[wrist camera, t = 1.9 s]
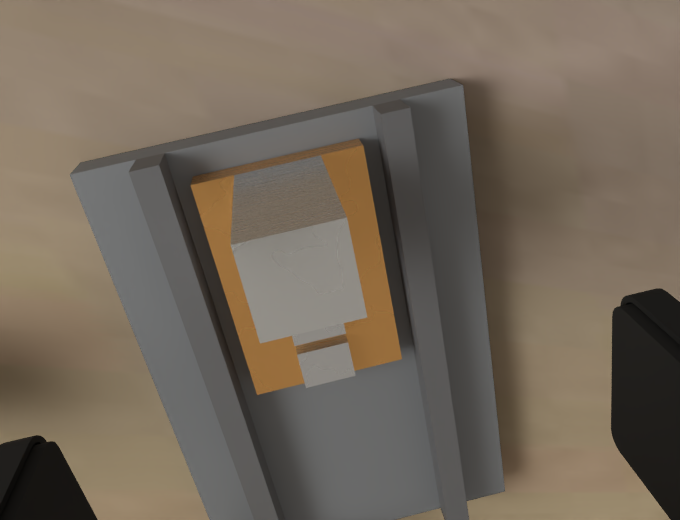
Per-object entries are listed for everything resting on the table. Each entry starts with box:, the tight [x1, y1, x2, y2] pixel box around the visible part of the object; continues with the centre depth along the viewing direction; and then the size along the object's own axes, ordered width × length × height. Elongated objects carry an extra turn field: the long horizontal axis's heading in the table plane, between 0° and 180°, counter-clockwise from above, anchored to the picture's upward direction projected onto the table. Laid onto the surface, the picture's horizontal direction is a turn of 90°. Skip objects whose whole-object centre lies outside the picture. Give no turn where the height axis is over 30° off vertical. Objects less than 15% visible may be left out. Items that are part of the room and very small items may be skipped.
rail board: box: [70, 79, 505, 520], centre depth 24 cm, size 20×14×8 cm
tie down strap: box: [191, 138, 402, 395], centre depth 21 cm, size 9×6×7 cm, turn 11°
